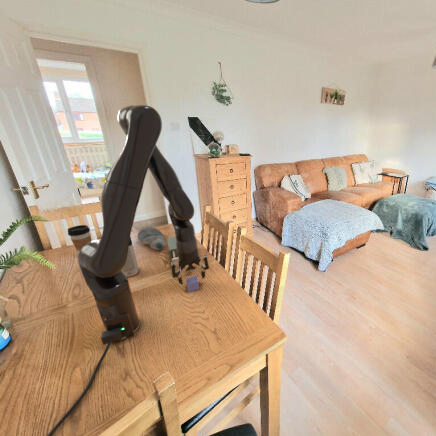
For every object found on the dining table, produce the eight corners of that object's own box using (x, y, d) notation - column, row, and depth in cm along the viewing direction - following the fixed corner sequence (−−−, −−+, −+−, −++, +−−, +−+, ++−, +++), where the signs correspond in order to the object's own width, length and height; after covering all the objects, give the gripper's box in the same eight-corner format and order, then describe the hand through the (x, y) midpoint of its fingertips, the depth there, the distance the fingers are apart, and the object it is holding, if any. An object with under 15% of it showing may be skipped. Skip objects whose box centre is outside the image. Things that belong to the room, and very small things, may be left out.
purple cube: (199, 289, 102) (198, 281, 101) (188, 292, 100) (187, 284, 99) (197, 283, 106) (196, 275, 104) (187, 286, 104) (185, 278, 102)
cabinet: (196, 259, 123) (194, 245, 120) (171, 265, 118) (169, 249, 114) (192, 247, 134) (190, 234, 130) (169, 252, 128) (167, 238, 125)
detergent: (135, 239, 140) (145, 256, 123) (134, 227, 138) (144, 243, 120) (160, 234, 148) (172, 250, 131) (159, 224, 146) (171, 238, 129)
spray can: (142, 269, 113) (133, 231, 105) (132, 278, 107) (121, 238, 99) (129, 268, 114) (119, 230, 106) (118, 276, 107) (106, 237, 100)
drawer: (199, 272, 112) (197, 259, 109) (175, 278, 107) (172, 265, 104) (193, 254, 126) (192, 243, 123) (172, 259, 121) (170, 247, 118)
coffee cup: (71, 255, 121) (61, 229, 115) (89, 248, 129) (80, 222, 123) (83, 259, 119) (74, 232, 113) (100, 251, 127) (92, 225, 121)
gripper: (168, 256, 89) (175, 290, 96) (207, 248, 96) (211, 280, 102) (167, 247, 95) (173, 280, 102) (204, 240, 102) (207, 271, 108)
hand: (192, 280), depth 102 cm, fingers open, 8 cm apart
